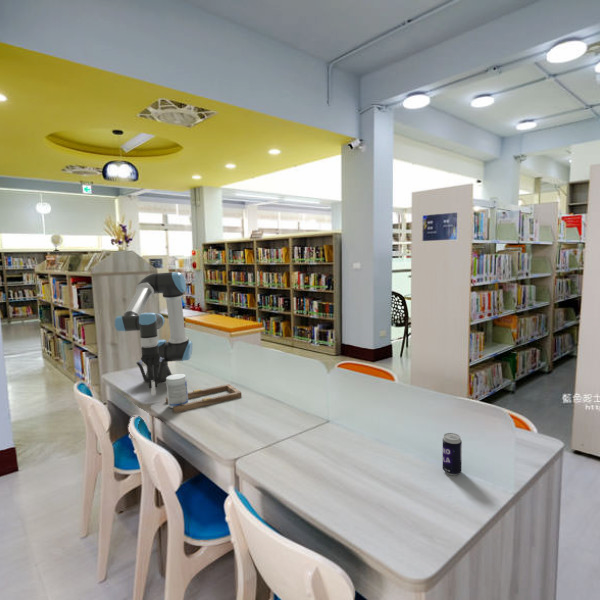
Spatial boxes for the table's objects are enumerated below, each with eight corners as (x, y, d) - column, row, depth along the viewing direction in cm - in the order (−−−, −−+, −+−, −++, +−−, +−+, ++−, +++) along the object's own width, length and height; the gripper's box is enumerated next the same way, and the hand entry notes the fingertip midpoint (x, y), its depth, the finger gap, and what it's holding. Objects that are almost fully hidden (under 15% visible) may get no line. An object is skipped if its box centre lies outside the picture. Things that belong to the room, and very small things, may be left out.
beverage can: (446, 465, 131) (446, 430, 130) (463, 470, 128) (464, 435, 127) (439, 472, 127) (439, 437, 126) (458, 478, 124) (458, 442, 122)
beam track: (165, 402, 200) (165, 396, 200) (229, 388, 218) (228, 382, 218) (174, 412, 186) (174, 406, 186) (241, 396, 204) (241, 391, 203)
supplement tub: (191, 405, 195) (189, 376, 193) (173, 410, 188) (171, 380, 187) (182, 400, 202) (180, 372, 200) (164, 405, 195) (162, 376, 194)
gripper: (136, 349, 179) (140, 399, 182) (165, 345, 186) (169, 393, 188) (133, 346, 186) (137, 395, 188) (162, 342, 192) (165, 389, 195)
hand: (153, 394), depth 188 cm, fingers closed
